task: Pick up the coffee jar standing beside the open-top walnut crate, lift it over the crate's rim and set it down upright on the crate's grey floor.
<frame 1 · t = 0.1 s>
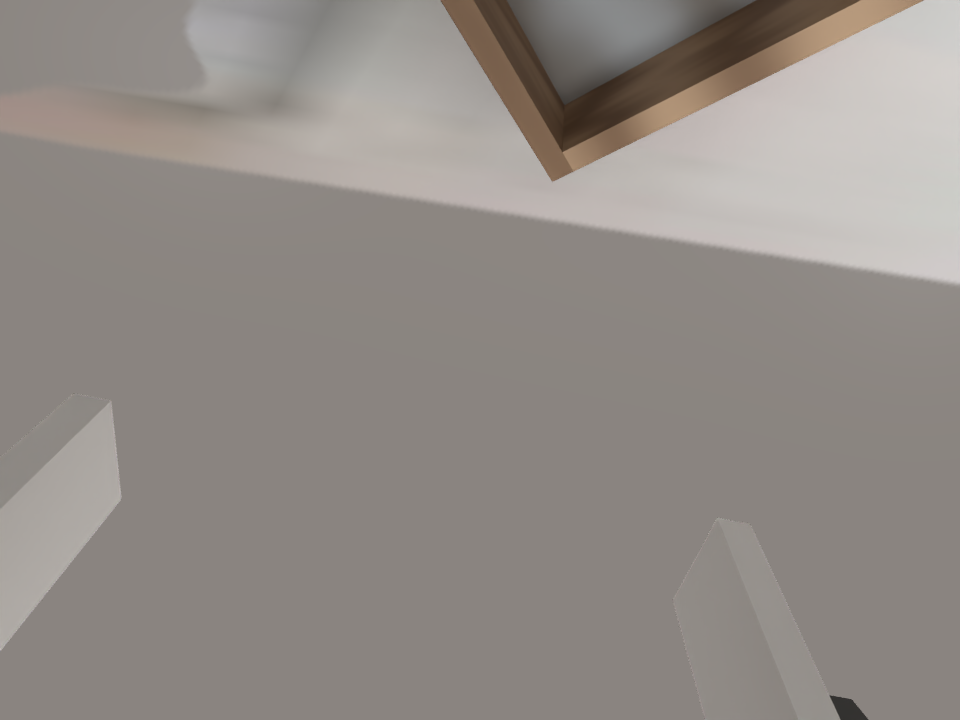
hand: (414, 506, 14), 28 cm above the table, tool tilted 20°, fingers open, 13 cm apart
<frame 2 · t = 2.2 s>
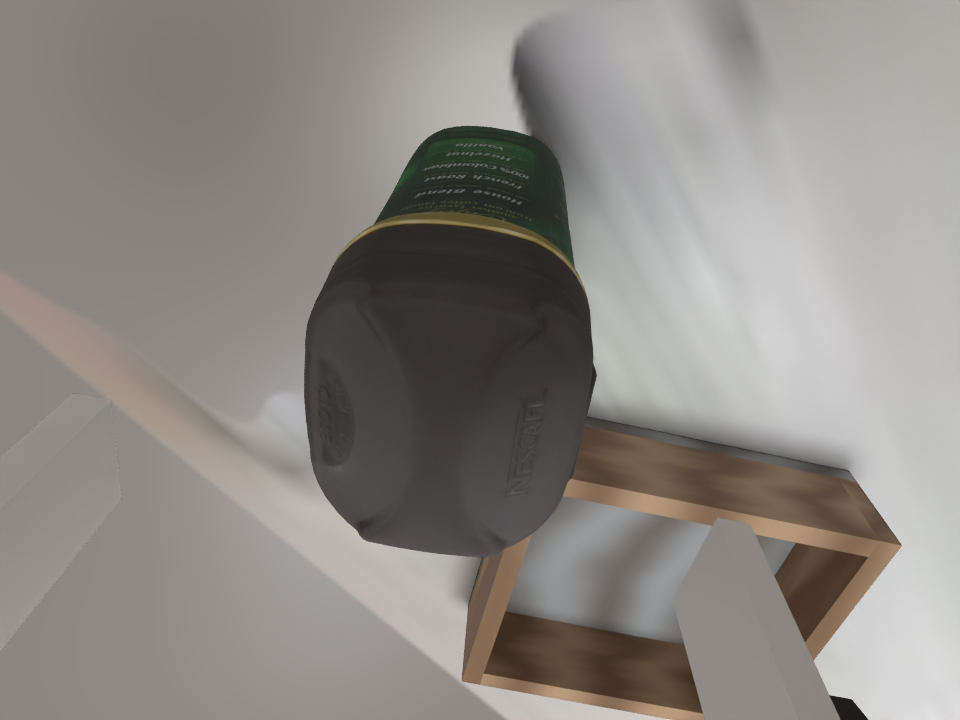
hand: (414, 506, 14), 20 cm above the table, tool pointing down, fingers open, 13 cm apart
coffee jar: (480, 223, 32), on the table
walnut crate: (640, 543, 42), on the table
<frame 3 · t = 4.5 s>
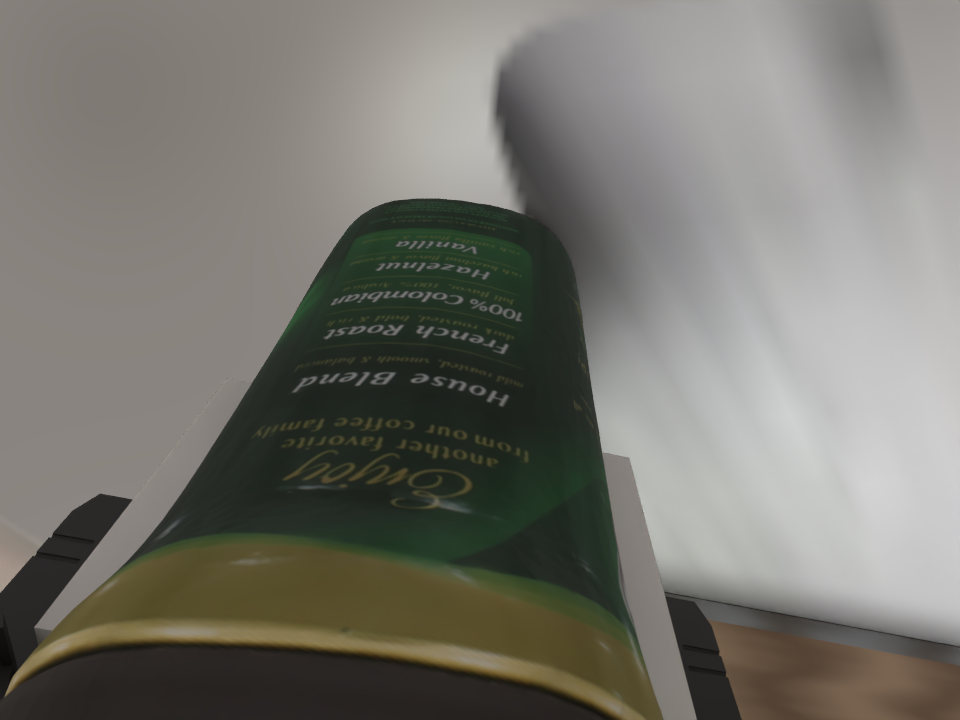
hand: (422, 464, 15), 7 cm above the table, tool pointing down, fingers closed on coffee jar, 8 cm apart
coffee jar: (448, 332, 21), on the table, touching gripper
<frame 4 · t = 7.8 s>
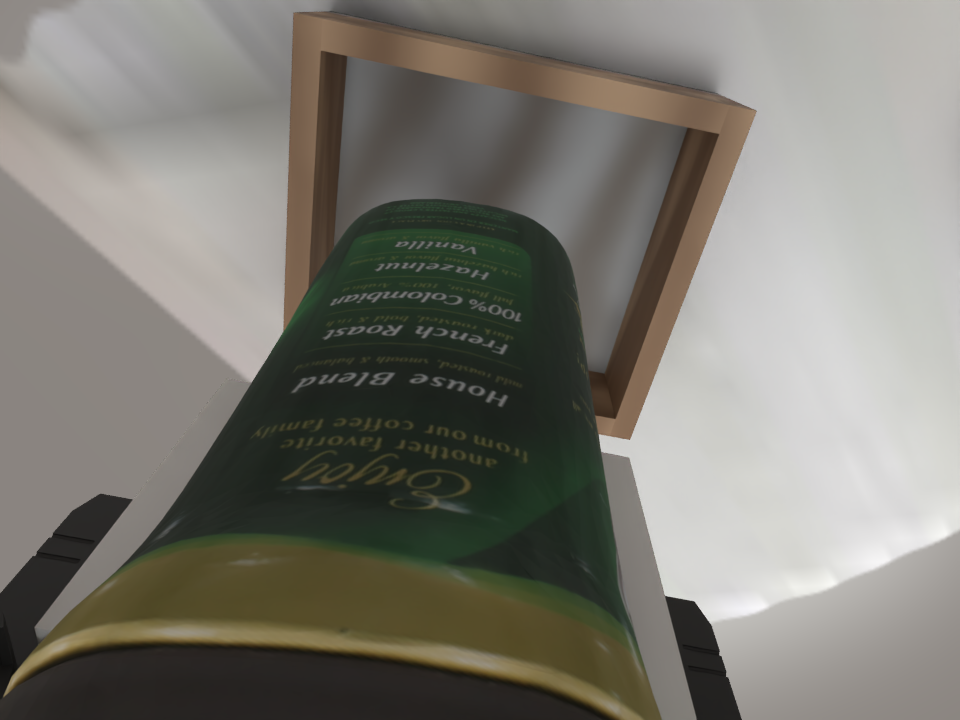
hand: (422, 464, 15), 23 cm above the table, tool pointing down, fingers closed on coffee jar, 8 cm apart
coffee jar: (448, 333, 21), point 16 cm above the table, touching gripper
walnut crate: (492, 223, 36), on the table
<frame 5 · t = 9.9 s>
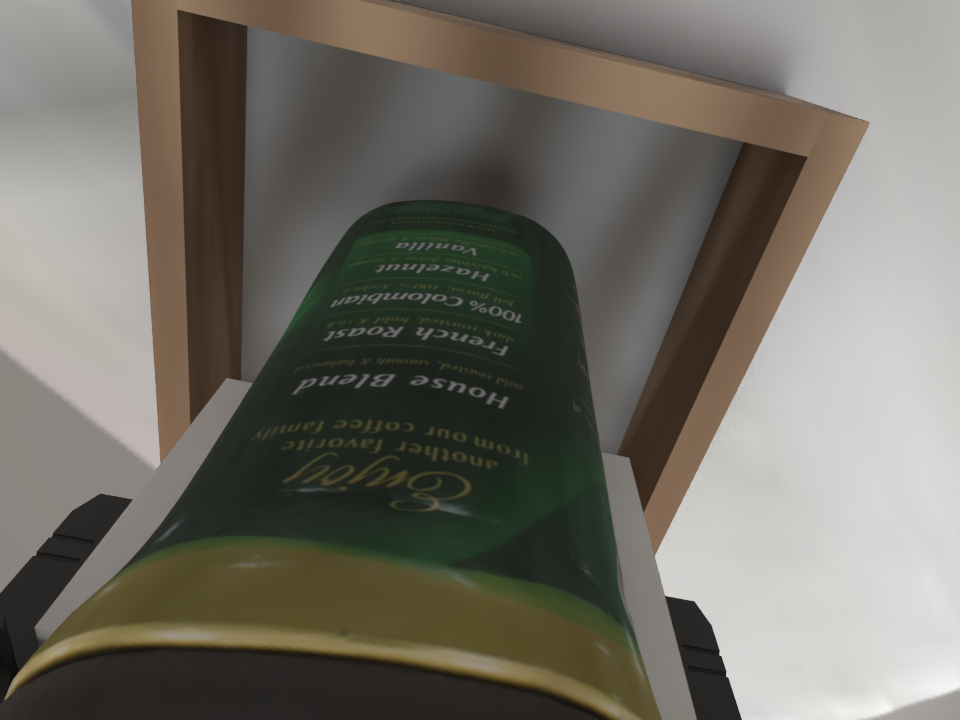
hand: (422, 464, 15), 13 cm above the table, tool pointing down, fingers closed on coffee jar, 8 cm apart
coffee jar: (448, 333, 21), point 6 cm above the table, touching gripper
walnut crate: (463, 267, 26), on the table
when the fingers open (9 cm above the table, at t = 11.5 s): coffee jar drops 1 cm, resting on walnut crate.
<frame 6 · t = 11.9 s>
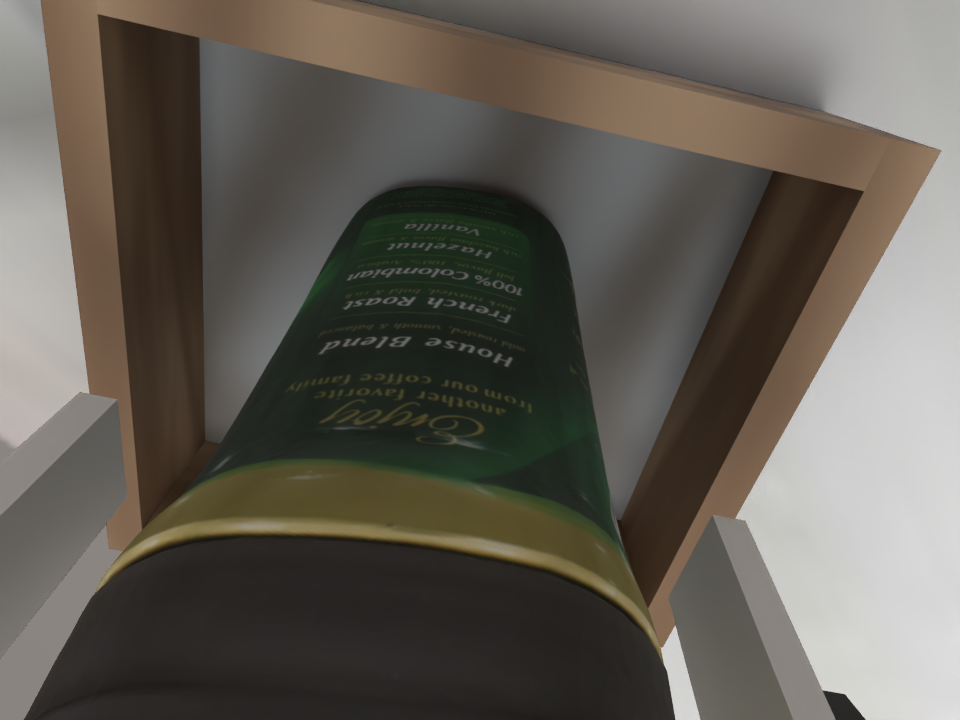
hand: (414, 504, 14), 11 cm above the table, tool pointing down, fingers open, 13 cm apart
coffee jar: (448, 314, 22), point 1 cm above the table, touching walnut crate
walnut crate: (453, 304, 23), on the table
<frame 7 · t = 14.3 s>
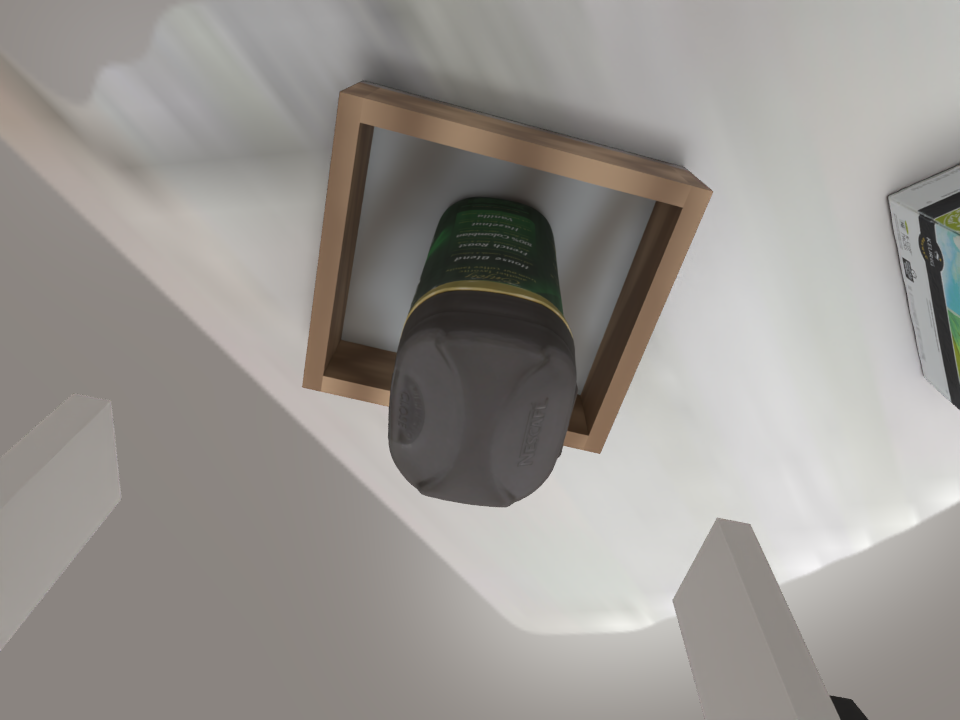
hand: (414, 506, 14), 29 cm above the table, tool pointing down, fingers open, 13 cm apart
coffee jar: (488, 266, 41), point 1 cm above the table, touching walnut crate
walnut crate: (490, 262, 42), on the table
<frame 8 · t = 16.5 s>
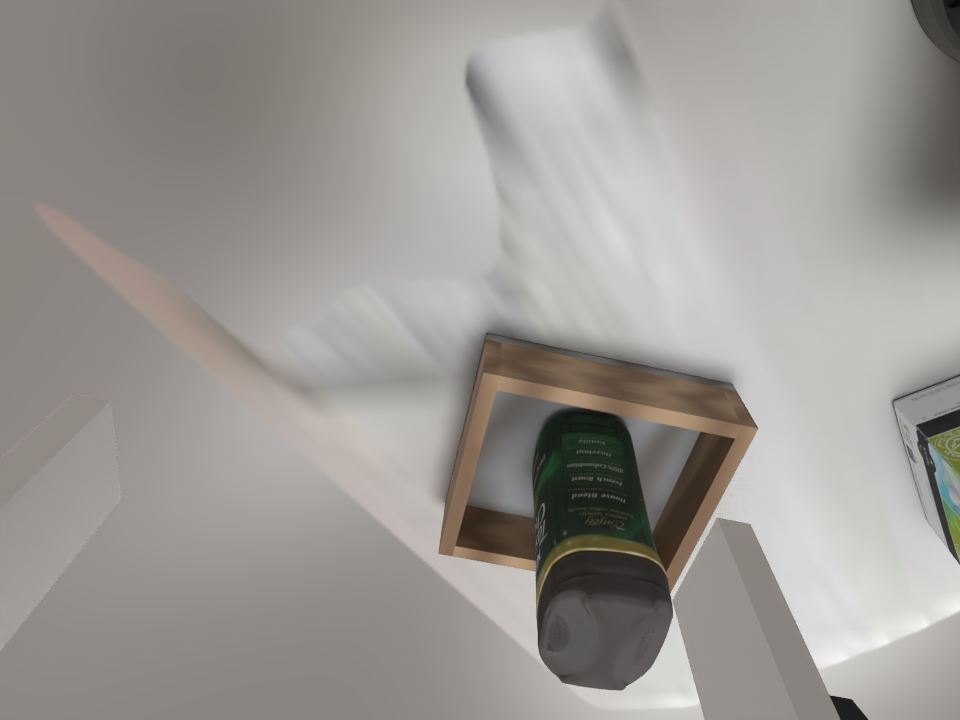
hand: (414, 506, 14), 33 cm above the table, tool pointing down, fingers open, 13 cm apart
coffee jar: (578, 453, 53), point 1 cm above the table, touching walnut crate
walnut crate: (578, 448, 53), on the table
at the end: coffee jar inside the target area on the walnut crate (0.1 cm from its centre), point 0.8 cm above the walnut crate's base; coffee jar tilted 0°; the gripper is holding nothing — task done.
